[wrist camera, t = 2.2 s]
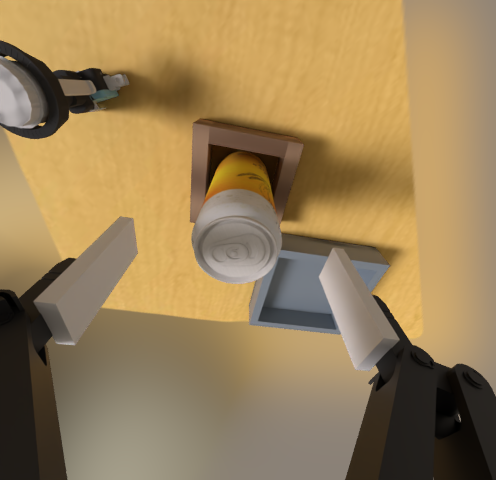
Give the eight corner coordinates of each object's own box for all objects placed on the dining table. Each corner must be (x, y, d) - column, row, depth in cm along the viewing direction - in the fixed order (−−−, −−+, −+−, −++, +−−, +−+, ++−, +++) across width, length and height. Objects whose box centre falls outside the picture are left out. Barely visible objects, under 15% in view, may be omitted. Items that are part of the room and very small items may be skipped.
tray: (269, 231, 31) (271, 248, 27) (375, 247, 32) (390, 265, 29) (249, 305, 40) (249, 324, 36) (332, 314, 41) (340, 334, 38)
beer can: (269, 196, 28) (287, 282, 15) (222, 203, 28) (202, 292, 16) (264, 145, 24) (280, 204, 12) (210, 154, 25) (173, 219, 12)
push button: (114, 44, 19) (16, 11, 11) (144, 111, 22) (84, 124, 14) (51, 66, 20) (-84, 51, 12) (87, 128, 23) (-1, 150, 15)
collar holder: (200, 118, 23) (193, 123, 20) (297, 137, 24) (304, 144, 21) (195, 208, 29) (189, 222, 26) (274, 220, 30) (276, 235, 27)
